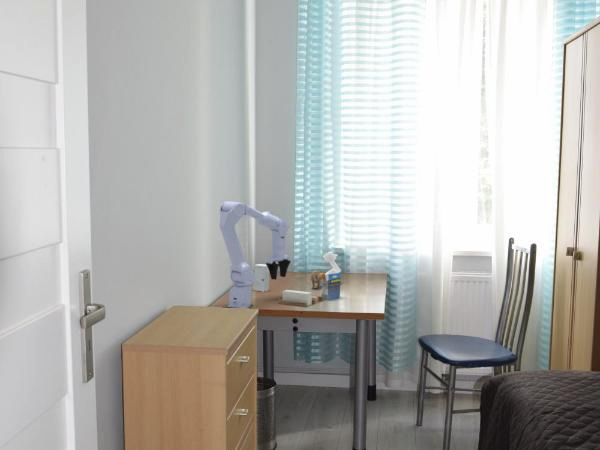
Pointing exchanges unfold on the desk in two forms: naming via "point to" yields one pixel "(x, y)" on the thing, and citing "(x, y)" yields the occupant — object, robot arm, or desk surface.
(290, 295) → the strip
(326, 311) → the desk surface
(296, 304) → the walnut drying rack
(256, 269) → the skincare box
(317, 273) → the lion figurine
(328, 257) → the voxel character
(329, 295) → the label tape box
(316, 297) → the terracotta strip
